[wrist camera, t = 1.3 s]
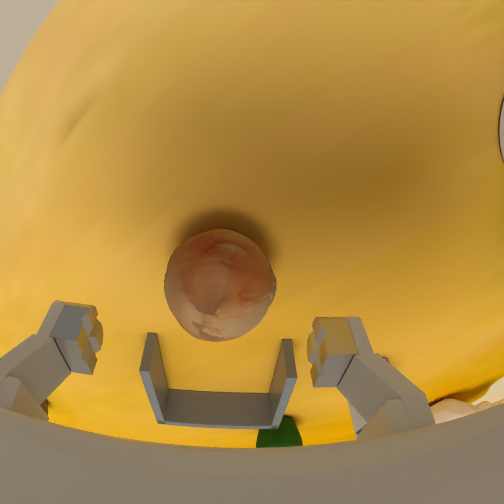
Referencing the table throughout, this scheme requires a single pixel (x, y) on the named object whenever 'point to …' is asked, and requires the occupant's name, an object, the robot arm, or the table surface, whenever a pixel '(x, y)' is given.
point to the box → (217, 396)
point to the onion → (219, 285)
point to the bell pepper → (280, 435)
